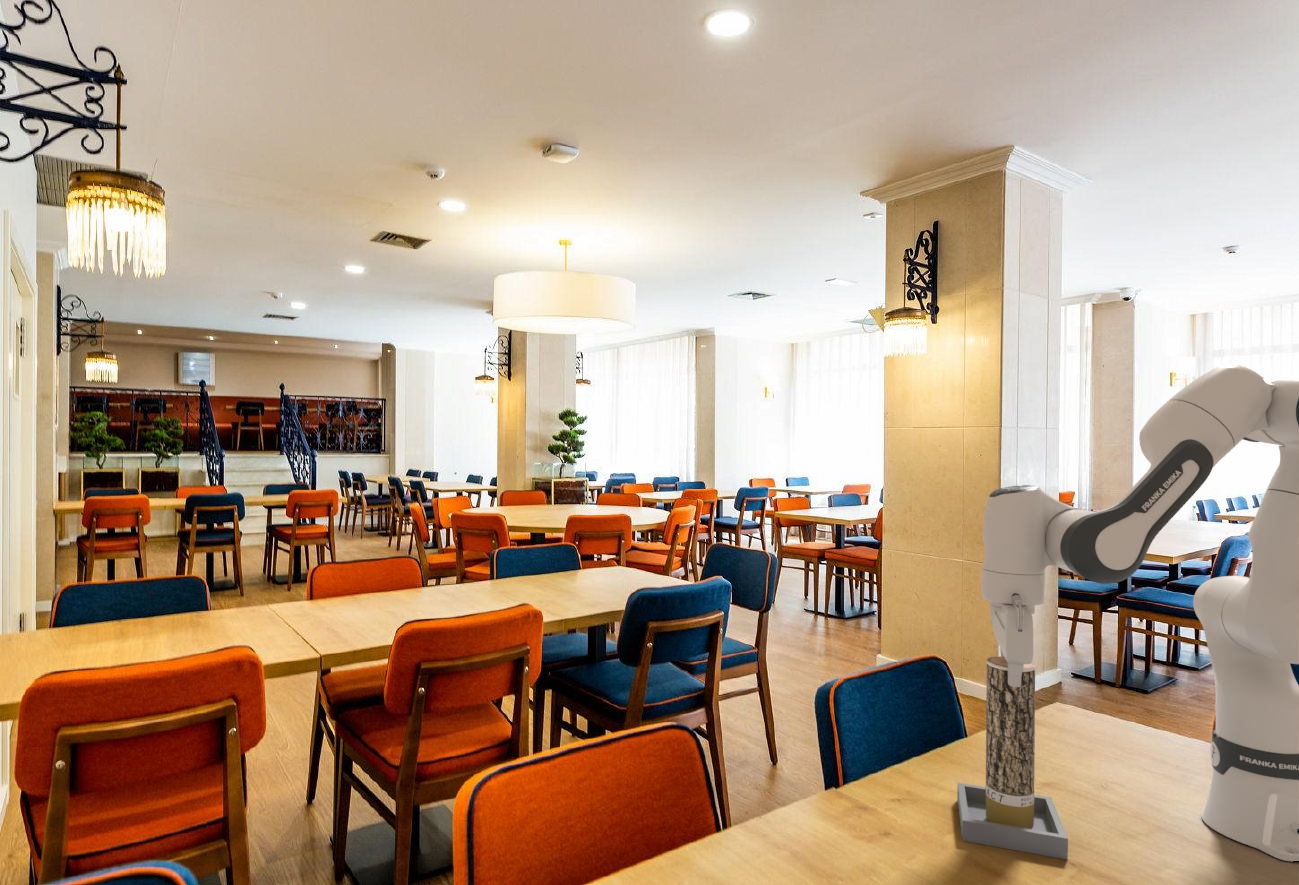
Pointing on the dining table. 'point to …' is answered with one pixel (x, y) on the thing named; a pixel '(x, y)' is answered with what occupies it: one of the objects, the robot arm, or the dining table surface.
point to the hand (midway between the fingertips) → (1010, 678)
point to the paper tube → (1010, 746)
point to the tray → (1038, 840)
